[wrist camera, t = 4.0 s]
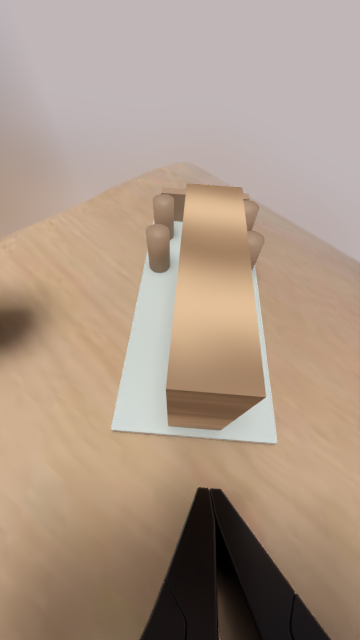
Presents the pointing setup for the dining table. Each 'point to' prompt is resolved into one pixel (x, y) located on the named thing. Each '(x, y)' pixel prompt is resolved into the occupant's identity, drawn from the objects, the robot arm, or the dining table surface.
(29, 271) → the dining table surface
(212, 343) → the brown wooden block
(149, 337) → the panel
